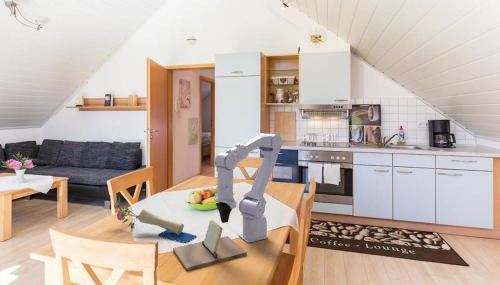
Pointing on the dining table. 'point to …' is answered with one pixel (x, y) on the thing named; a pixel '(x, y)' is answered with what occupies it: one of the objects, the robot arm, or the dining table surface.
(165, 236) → the blue flat pad
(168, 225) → the flower vase
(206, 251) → the board
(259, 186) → the robot arm
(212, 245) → the tile
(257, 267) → the dining table surface
